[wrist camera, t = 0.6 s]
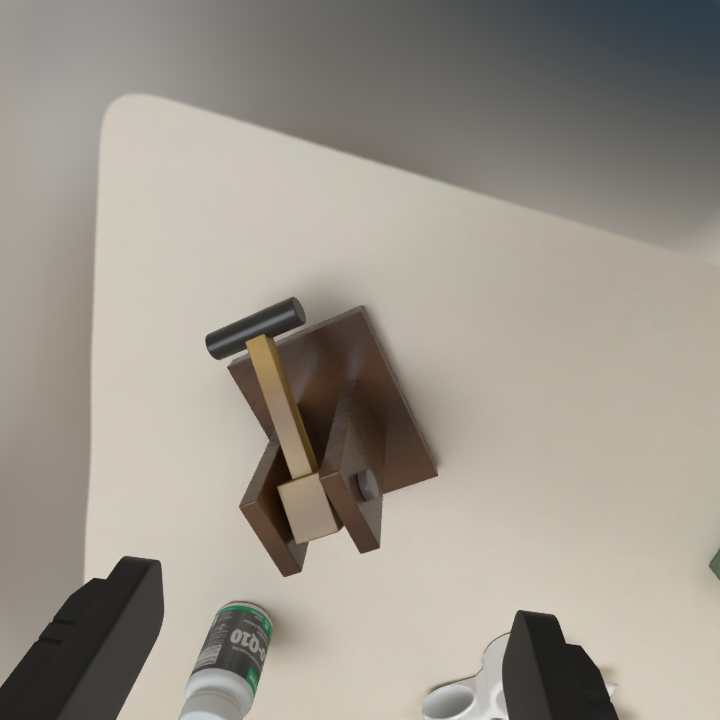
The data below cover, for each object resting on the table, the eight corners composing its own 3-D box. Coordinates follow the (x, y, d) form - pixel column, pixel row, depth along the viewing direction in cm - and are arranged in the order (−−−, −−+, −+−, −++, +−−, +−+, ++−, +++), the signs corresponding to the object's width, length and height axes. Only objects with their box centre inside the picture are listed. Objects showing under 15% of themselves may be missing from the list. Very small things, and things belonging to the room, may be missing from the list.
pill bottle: (285, 632, 40) (257, 746, 32) (237, 649, 41) (199, 764, 33) (252, 591, 39) (214, 701, 31) (203, 611, 40) (155, 721, 32)
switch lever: (221, 336, 27) (195, 332, 24) (303, 299, 26) (285, 292, 23) (289, 537, 26) (269, 554, 23) (378, 508, 24) (367, 522, 22)
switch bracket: (232, 360, 31) (154, 453, 21) (362, 304, 29) (342, 379, 19) (317, 505, 35) (283, 643, 25) (437, 465, 33) (453, 597, 23)
